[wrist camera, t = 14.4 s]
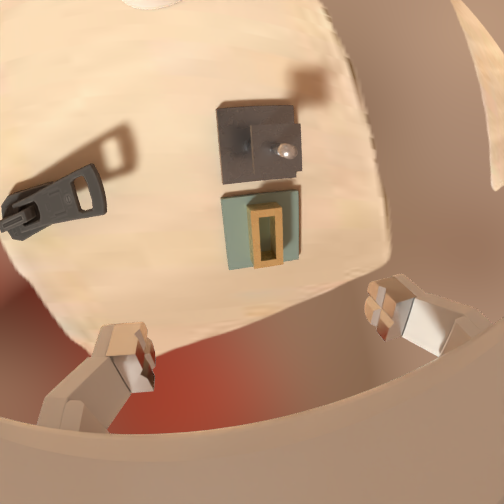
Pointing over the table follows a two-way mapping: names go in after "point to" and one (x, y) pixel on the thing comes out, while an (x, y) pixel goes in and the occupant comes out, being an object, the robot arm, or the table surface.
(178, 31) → the table surface
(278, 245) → the wooden rectangular frame
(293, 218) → the rubber mat
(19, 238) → the zipper pull
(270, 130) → the pin stand
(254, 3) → the table surface
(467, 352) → the robot arm
